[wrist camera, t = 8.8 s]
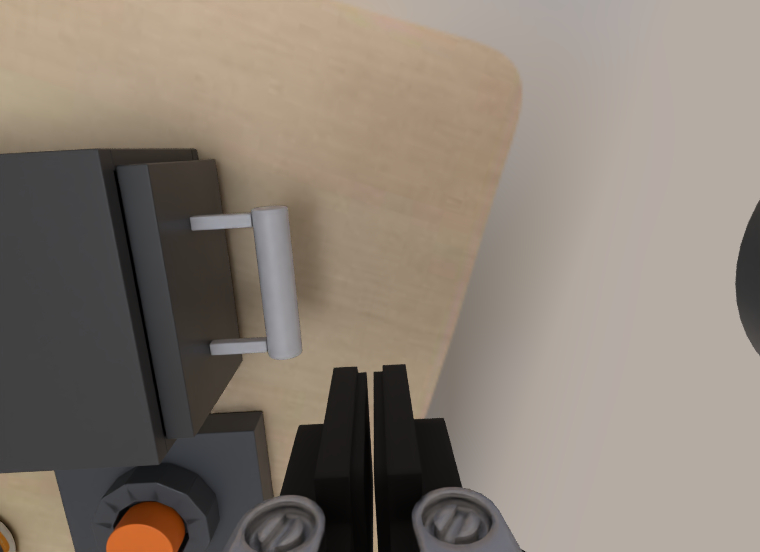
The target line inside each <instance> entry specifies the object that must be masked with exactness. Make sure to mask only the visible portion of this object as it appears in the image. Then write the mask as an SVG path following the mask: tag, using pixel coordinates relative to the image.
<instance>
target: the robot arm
mask: <svg viewBox="0 0 760 552" xmlns="http://www.w3.org/2000/svg"><path fill="white" fill-rule="evenodd" d="M374 486H375V504H376V521H377V538H378V552H525V551H524V550H522V549H520V547H519V545H518V543H517V541H516V540H515V538H514V536H513V534H512V533H511V531H510V529H509V527H508V525H507V524H506V522H505V520H504V518H503V517H502V515H501V513H500V511H499V510H498V508H497V507H496V506H495V505H494V503H493V502H492V501H491V500H489V499H488V498H487V497H485V496H484V495H482V494H481V493H478V492H475V491H473V490H470V489H466V488H462V485H461V481H460V477H459V473H458V470H457V466H456V462H455V458H454V455H453V451H452V447H451V443H450V439H449V436H448V432H447V428H446V424H445V421H444V418H432V419H414V418H413V411H412V405H411V398H410V391H409V385H408V378H407V371H406V365H405V364H400V365H383V372H374ZM222 552H373V472H372V455H371V438H370V422H369V405H368V388H367V373H366V372H363V373H358V369H357V367H339V368H334V369H333V375H332V381H331V386H330V392H329V397H328V403H327V409H326V414H325V420H324V424H311V425H300V426H299V427H298V430H297V434H296V437H295V441H294V445H293V449H292V452H291V456H290V460H289V464H288V467H287V471H286V475H285V478H284V482H283V486H282V490H281V493H280V496H278V497H274V498H270V499H267V500H265V501H263V502H261V503H259V504H257V505H255V506H254V507H253V508H251V509H250V510H249V511H248V512H246V513H245V514H244V516H243V517H242V518H241V520H240V521H239V522H238V524H237V526H236V527H235V529H234V531H233V533H232V535H231V536H230V538H229V540H228V542H227V544H226V545H225V547H224V549H223V551H222Z"/></svg>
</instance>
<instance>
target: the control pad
mask: <svg viewBox="0 0 760 552" xmlns="http://www.w3.org/2000/svg"><path fill="white" fill-rule="evenodd" d="M54 471H55V475H56V479H57V483H58V487H59V491H60V494H61V498H62V502H63V506H64V510H65V514H66V518H67V521H68V525H69V529H70V533H71V537H72V541H73V545H74V548H75V552H107V551H106V545H107V541H108V538H109V536H110V535H111V533H112V532H113V530H114V529H115V527H116V526H117V525H118V523H119V522H120V520H121V519H122V517H123V516H124V514H125V513H126V512H127V511H128V510H129V509H130V508H131V507H132V506H134V505H136V504H139V503H142V502H159V503H162V504H164V505H167V506H169V507H171V508H173V509H174V510H175V511H176V512H177V513H178V514H179V515H180V516H181V518H182V520H183V522H184V525H185V536H184V539H183V541H182V543H181V545H180V548H179V550H178V552H222V551H223V549H224V547H225V545H226V544H227V542H228V540H229V538H230V536H231V535H232V533H233V531H234V529H235V527H236V526H237V524H238V522H239V521H240V520H241V518H242V517H243V516H244V514H245V513H246V512H248V511H249V510H250V509H251V508H253V507H254V506H255V505H257V504H259V503H261V502H263V501H265V500H267V499H270V498H273V490H272V482H271V475H270V467H269V459H268V451H267V444H266V436H265V428H264V420H263V413H262V412H242V413H223V414H209V415H208V417H207V418H206V420H205V421H204V423H203V425H202V426H201V428H200V429H199V431H198V432H197V434H196V436H195V437H194V438H181V439H177V440H176V441H175V443H174V444H173V446H172V447H171V449H170V450H169V452H168V453H167V454H166V456H165V457H164V459H163V460H162V462H161V463H160V464H159V465H148V466H129V467H110V468H91V469H71V470H54Z"/></svg>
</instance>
